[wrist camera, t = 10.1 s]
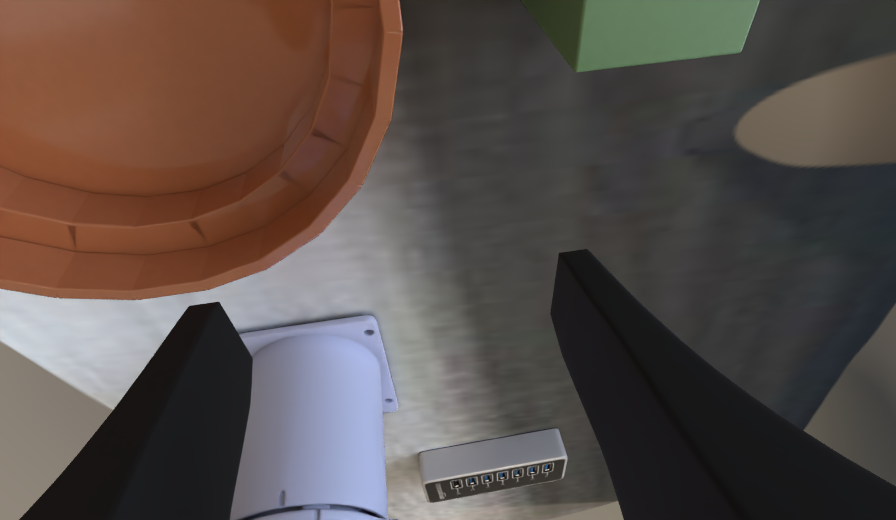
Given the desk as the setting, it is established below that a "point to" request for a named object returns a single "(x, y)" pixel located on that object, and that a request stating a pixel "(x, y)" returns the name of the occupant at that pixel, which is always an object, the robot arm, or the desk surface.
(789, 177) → the desk surface
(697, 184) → the desk surface
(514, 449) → the multiport hub
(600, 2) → the green block
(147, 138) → the basin
